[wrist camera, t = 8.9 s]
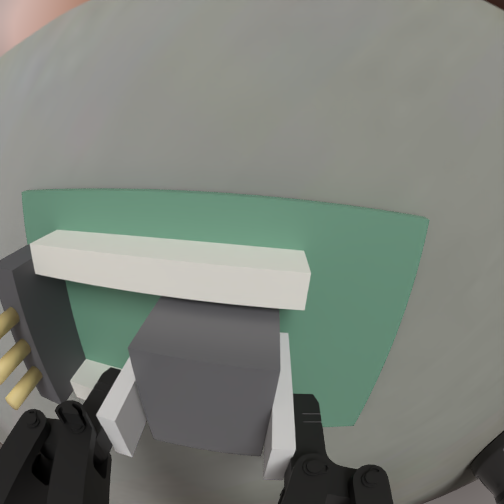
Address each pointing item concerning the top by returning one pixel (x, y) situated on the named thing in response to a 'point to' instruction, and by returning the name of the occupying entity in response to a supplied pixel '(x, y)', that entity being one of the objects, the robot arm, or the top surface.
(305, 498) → the robot arm
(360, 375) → the header board
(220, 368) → the plug
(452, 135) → the top surface
